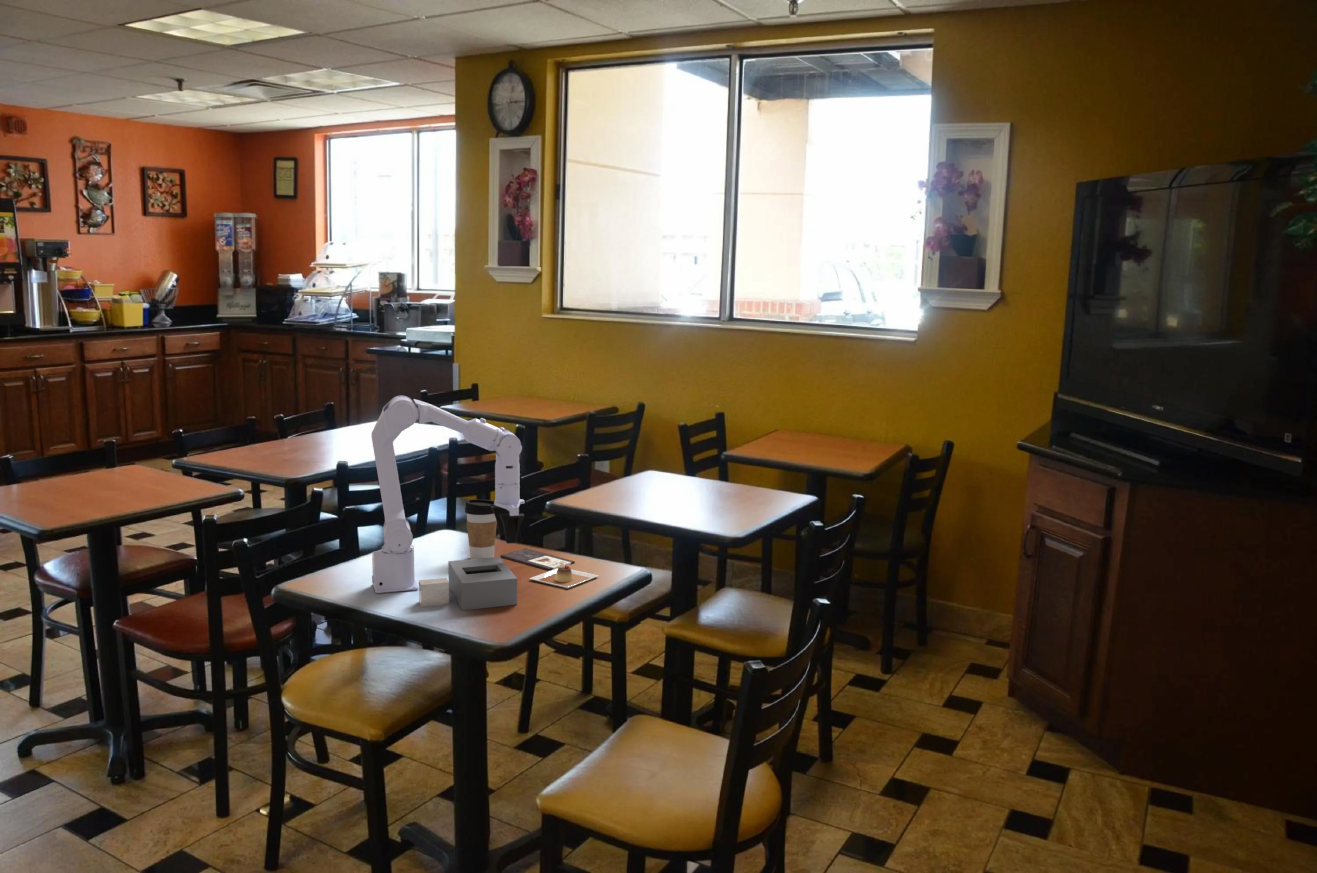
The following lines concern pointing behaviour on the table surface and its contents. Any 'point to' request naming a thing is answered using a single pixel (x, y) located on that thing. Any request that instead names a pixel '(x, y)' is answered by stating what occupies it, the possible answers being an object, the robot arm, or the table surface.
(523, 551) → the chocolate bar
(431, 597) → the cream block
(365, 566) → the table surface
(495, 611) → the table surface
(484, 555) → the coffee cup
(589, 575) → the dessert
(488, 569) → the grey tissue box
